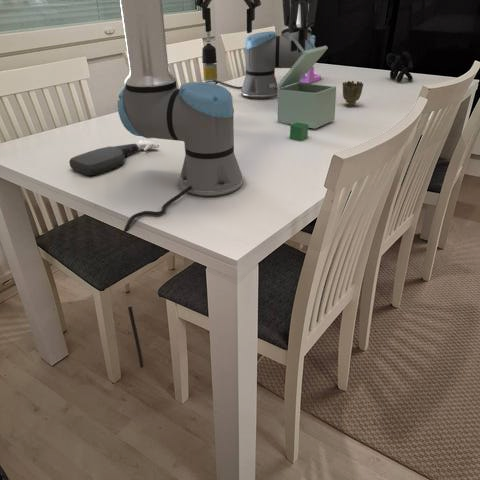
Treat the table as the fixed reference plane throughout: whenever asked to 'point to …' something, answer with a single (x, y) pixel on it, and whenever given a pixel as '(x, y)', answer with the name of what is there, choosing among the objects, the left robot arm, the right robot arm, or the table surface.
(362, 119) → the table surface
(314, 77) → the bracket
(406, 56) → the squiggle
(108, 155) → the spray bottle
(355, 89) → the cup
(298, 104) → the chest
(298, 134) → the block
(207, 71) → the filter
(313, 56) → the lid
